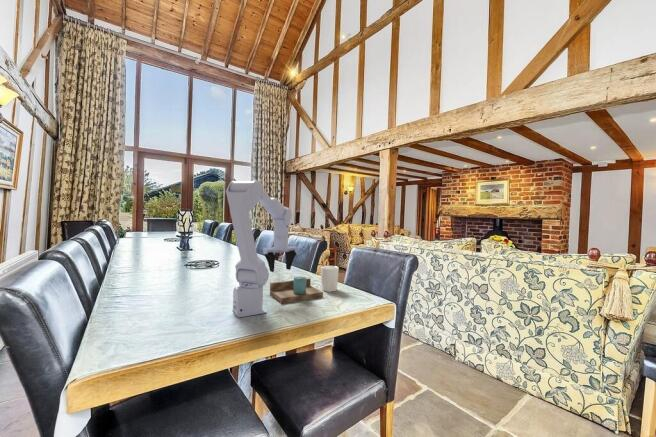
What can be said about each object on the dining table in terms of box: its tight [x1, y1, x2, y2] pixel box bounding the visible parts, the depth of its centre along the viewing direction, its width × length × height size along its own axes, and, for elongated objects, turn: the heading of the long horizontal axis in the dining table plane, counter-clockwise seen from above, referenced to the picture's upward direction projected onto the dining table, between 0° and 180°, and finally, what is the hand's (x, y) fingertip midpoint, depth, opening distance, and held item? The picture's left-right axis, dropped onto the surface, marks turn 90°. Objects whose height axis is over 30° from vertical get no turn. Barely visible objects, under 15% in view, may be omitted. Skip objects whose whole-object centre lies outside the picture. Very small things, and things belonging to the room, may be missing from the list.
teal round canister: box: [293, 276, 307, 295], centre depth 112 cm, size 5×5×6 cm
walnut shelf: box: [269, 277, 324, 304], centre depth 115 cm, size 18×12×5 cm, turn 122°
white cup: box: [320, 265, 340, 293], centre depth 125 cm, size 8×8×10 cm
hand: (280, 270), depth 114 cm, fingers open, 7 cm apart
